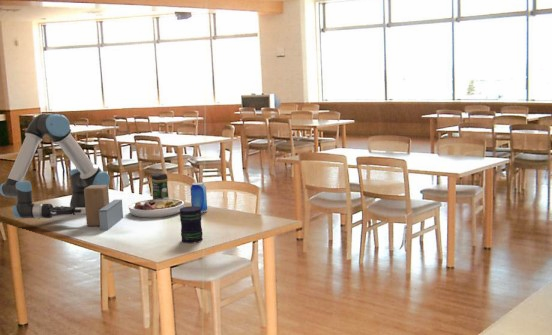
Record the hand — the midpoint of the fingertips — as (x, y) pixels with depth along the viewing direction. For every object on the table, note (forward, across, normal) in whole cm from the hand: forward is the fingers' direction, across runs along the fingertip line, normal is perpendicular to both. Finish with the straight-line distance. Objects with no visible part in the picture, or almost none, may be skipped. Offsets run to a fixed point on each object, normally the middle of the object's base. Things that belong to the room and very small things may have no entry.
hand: (87, 210), depth 341 cm
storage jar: (+61, +35, -8) cm, 71 cm away
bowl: (+30, -25, -7) cm, 40 cm away
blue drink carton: (+54, -24, -7) cm, 60 cm away
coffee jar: (+27, -48, -6) cm, 55 cm away
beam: (+12, -1, -7) cm, 14 cm away
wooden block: (+5, -1, -8) cm, 9 cm away
